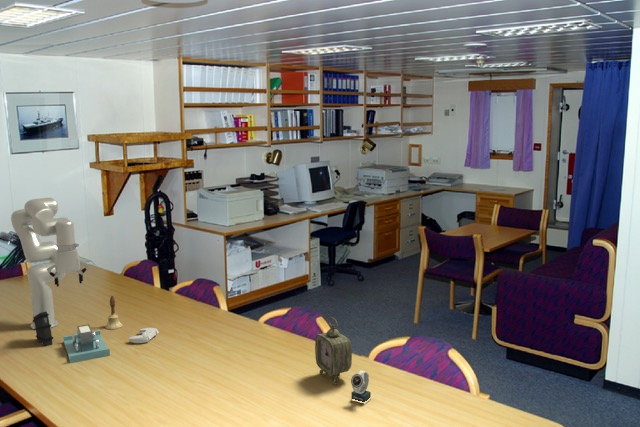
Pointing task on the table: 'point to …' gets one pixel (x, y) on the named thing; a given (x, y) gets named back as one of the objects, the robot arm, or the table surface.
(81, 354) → the pin tray
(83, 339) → the block
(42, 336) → the black stepped block
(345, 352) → the tabletop clock
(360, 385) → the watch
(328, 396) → the table surface
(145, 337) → the game controller
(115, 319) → the hand bell
